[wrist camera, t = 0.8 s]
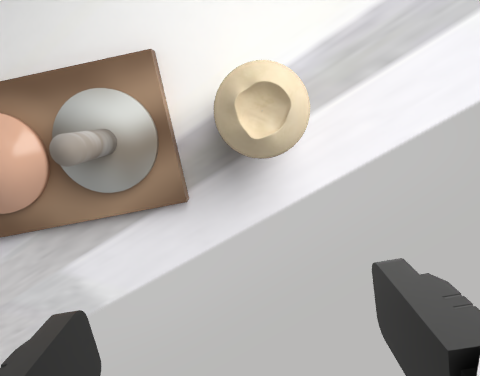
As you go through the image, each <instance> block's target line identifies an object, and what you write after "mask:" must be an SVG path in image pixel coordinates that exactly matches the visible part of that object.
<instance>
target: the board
mask: <svg viewBox="0 0 480 376" xmlns="http://www.w3.org/2000/svg"><path fill="white" fill-rule="evenodd" d="M0 113H5V114H9V115H12V116H14V117H17V118H18V119H20V120H22V121H23V122H25V123H26V124H28V125H29V126H30V127H31V128H32V129H33V130H34V131H35V132H36V133H37V134H38V136H39V137H40V138H41V140H42V142H43V143H44V145H45V147H46V150H47V153H48V156H49V161H50V175H49V180H48V184H47V186H46V188H45V190H44V192H43V193H42V195H41V196H40V197H39V198H38V199H37V200H36V201H35V202H34V203H32V204H31V205H29V206H27V207H25V208H23V209H20V210H18V211H15V212H12V213H6V214H0V237H5V236H11V235H16V234H21V233H26V232H32V231H37V230H42V229H47V228H53V227H58V226H63V225H68V224H74V223H79V222H84V221H89V220H95V219H100V218H105V217H110V216H116V215H121V214H126V213H131V212H137V211H142V210H147V209H152V208H158V207H163V206H168V205H173V204H179V203H184V202H187V201H188V199H189V196H188V192H187V187H186V183H185V179H184V174H183V170H182V166H181V162H180V157H179V153H178V149H177V145H176V140H175V136H174V132H173V127H172V123H171V119H170V115H169V110H168V106H167V102H166V97H165V93H164V89H163V85H162V80H161V76H160V72H159V68H158V63H157V59H156V55H155V51H153V50H152V49H148V50H143V51H139V52H134V53H129V54H125V55H120V56H116V57H111V58H106V59H102V60H97V61H93V62H88V63H83V64H79V65H74V66H70V67H65V68H60V69H56V70H51V71H46V72H42V73H37V74H33V75H28V76H23V77H19V78H14V79H10V80H5V81H0Z"/></svg>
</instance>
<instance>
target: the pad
mask: <svg viewBox="0 0 480 376" xmlns="http://www.w3.org/2000/svg"><path fill="white" fill-rule="evenodd" d="M49 175H50V161H49V156H48V153H47V150H46V147H45V145H44V143H43V142H42V140H41V138H40V137H39V136H38V134H37V133H36V132H35V131H34V130H33V129H32V128H31V127H30V126H29V125H28V124H26V123H25V122H23V121H22V120H20V119H18V118H17V117H14V116H12V115H9V114H5V113H0V214H6V213H12V212H15V211H18V210H20V209H23V208H25V207H27V206H29V205H31V204H32V203H34V202H35V201H36V200H37V199H38V198H39V197H40V196H41V195H42V193H43V192H44V190H45V188H46V186H47V184H48V180H49Z"/></svg>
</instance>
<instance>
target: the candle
mask: <svg viewBox="0 0 480 376" xmlns="http://www.w3.org/2000/svg"><path fill="white" fill-rule="evenodd" d="M309 116H310V102H309V97H308V93H307V90H306V88H305V86H304V84H303V82H302V81H301V80H300V78H299V77H298V76H297V75H296V74H295V73H294V72H293V71H292V70H291V69H289V68H288V67H286V66H284V65H282V64H280V63H277V62H274V61H268V60H256V61H251V62H248V63H245V64H243V65H241V66H239V67H237V68H236V69H234V70H233V71H232V72H230V73H229V74H228V75H227V77H226V78H225V79H224V80H223V82H222V83H221V85H220V87H219V89H218V91H217V94H216V97H215V101H214V118H215V123H216V126H217V129H218V131H219V133H220V135H221V136H222V138H223V139H224V141H225V142H226V143H227V144H228V145H229V146H230V147H231V148H232V149H234V150H235V151H237V152H238V153H240V154H242V155H245V156H248V157H252V158H271V157H275V156H278V155H280V154H282V153H284V152H286V151H288V150H289V149H290V148H292V147H293V146H294V145H295V144H296V143H297V142H298V141H299V139H300V138H301V137H302V135H303V133H304V132H305V130H306V127H307V125H308V121H309Z"/></svg>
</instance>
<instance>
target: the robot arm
mask: <svg viewBox="0 0 480 376" xmlns="http://www.w3.org/2000/svg"><path fill="white" fill-rule="evenodd" d="M372 275H373V284H374V293H375V303H376V311H377V318H378V323H379V327H380V330H381V333H382V335H383V337H384V339H385V341H386V343H387V344H388V346H389V348H390V349H391V351H392V353H393V355H394V356H395V358H396V360H397V361H398V363H399V365H400V367H401V368H402V370H403V371H404V373H405V375H406V376H480V310H479V309H478V308H477V307H475V306H473V304H472V303H471V302H470V301H469V300H468V299H467V298H466V297H464V296H462V295H461V293H460V292H459V291H457V290H456V289H455V288H454V287H453V286H452V285H451V284H450V283H449V282H447V281H445V280H442V279H440V278H438V277H436V276H433V275H431V274H429V273H427V274H421V275H419V274H418V273H417V272H416V271H415V270H414V269H413V268H412V267H411V266H410V265H409V264H408V263H407V262H406V261H405V260H404V259H402V258H400V259H394V260H387V261H382V262H376V263H373V265H372ZM100 373H101V360H100V356H99V353H98V350H97V346H96V343H95V340H94V337H93V334H92V330H91V327H90V324H89V321H88V318H87V316H86V314H85V313H84V312H83V311H80V310H79V311H73V312H67V313H61V314H55V315H52V316H51V317H50V318H49V319H48V320H47V321H46V322H45V323H44V324H43V326H42V327H41V328H40V329H39V330H38V331H37V332H36V333H35V334H34V335H33V337H32V338H31V339H30V340H28V341H27V342H25V343H24V344H23V345H21V346H20V347H19V348H17V349H16V350H15V351H14V352H13V353H12V354H11V355H10V356H9V357H8V358H7V359H6V360H5V361H4V362H3V364H2V365H1V368H0V376H100Z"/></svg>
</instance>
